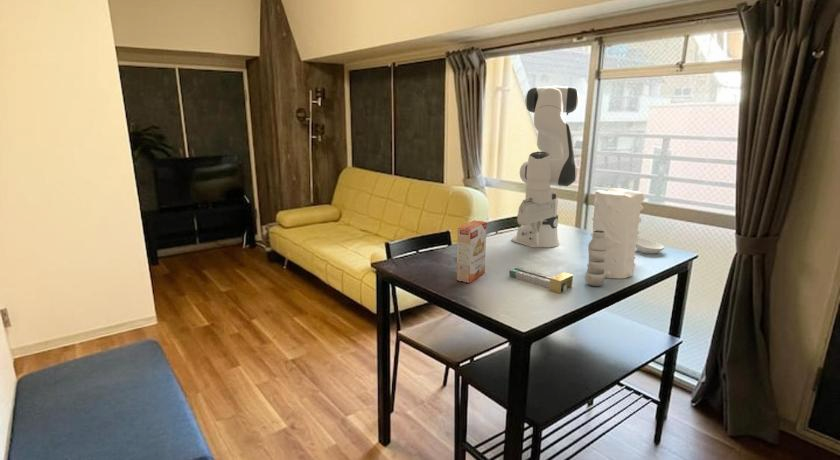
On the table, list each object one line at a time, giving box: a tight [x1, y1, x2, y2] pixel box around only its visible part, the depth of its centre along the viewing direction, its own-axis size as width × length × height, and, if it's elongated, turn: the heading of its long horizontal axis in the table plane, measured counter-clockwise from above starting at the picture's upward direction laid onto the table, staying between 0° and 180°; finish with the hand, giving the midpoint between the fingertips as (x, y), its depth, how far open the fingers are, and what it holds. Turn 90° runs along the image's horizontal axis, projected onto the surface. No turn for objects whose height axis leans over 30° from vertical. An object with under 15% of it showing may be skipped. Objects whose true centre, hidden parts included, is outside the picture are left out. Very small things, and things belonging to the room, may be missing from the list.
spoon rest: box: [636, 235, 665, 255], centre depth 206 cm, size 24×12×7 cm, turn 45°
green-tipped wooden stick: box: [508, 268, 568, 294], centre depth 168 cm, size 23×4×3 cm, turn 43°
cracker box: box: [456, 220, 488, 284], centre depth 173 cm, size 14×6×21 cm, turn 148°
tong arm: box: [513, 266, 553, 280], centre depth 172 cm, size 16×2×3 cm, turn 43°
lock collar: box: [549, 271, 574, 294], centre depth 162 cm, size 4×8×5 cm, turn 133°
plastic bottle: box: [584, 230, 608, 287], centre depth 163 cm, size 6×7×20 cm
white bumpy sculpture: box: [586, 187, 645, 279], centre depth 174 cm, size 17×16×32 cm
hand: (535, 232), depth 173 cm, fingers closed
